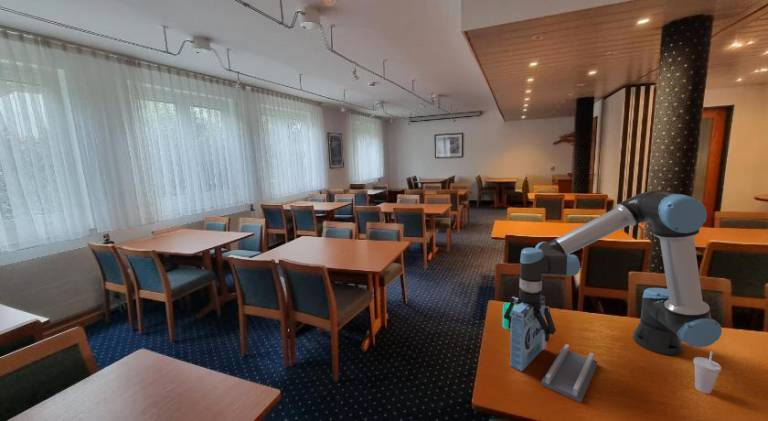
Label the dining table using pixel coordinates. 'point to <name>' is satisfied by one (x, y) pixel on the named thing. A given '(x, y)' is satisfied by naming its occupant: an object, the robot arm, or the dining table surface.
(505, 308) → the candle
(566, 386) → the door track
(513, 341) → the gum box
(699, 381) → the smoothie
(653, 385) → the dining table surface
